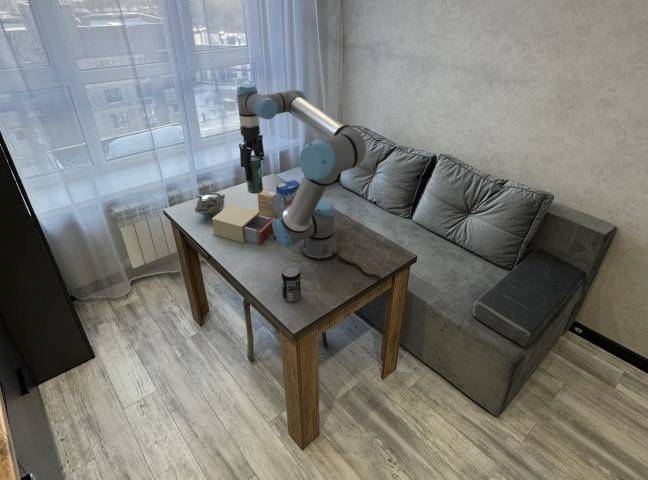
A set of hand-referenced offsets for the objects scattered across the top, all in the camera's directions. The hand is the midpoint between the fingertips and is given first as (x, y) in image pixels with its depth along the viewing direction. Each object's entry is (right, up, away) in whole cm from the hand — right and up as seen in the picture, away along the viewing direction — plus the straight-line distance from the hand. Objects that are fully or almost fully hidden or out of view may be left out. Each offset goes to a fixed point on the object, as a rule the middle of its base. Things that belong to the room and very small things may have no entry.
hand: (254, 177), depth 169 cm
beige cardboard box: (-11, -23, +14) cm, 29 cm away
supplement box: (+1, -17, +26) cm, 31 cm away
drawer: (+1, -25, +10) cm, 27 cm away
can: (0, -6, +3) cm, 6 cm away
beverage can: (+19, -46, -21) cm, 54 cm away
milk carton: (+12, -20, +22) cm, 32 cm away
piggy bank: (-26, -17, +25) cm, 40 cm away
